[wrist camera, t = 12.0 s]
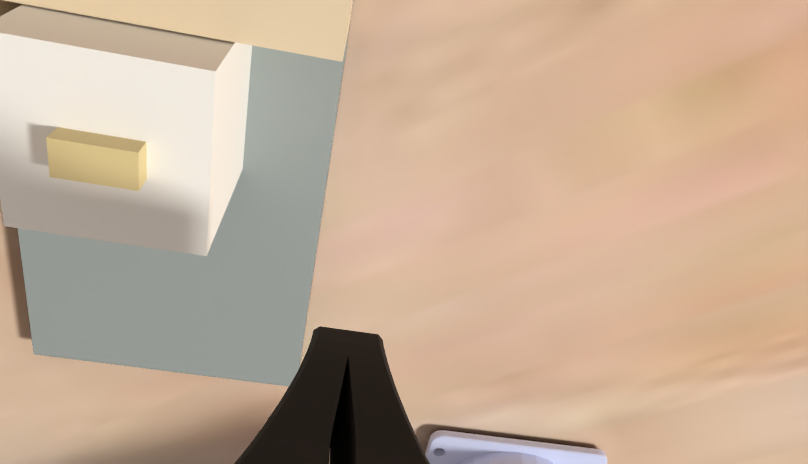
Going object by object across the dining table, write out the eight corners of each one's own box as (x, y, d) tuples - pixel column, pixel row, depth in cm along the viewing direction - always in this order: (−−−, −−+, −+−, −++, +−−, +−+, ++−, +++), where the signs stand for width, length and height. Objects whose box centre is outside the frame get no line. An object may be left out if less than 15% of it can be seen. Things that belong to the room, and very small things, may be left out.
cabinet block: (242, 168, 22) (201, 269, 17) (81, 142, 21) (-8, 238, 16) (254, 13, 19) (209, 80, 14) (71, -22, 19) (-38, 36, 14)
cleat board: (298, 373, 28) (285, 447, 24) (42, 340, 26) (-6, 413, 23) (358, -35, 19) (352, -4, 16) (-10, -108, 18) (-97, -90, 15)
